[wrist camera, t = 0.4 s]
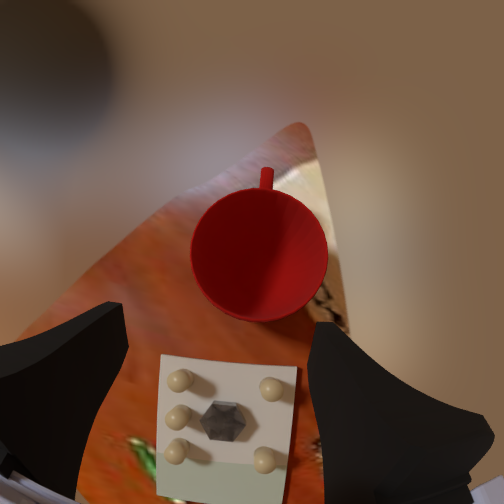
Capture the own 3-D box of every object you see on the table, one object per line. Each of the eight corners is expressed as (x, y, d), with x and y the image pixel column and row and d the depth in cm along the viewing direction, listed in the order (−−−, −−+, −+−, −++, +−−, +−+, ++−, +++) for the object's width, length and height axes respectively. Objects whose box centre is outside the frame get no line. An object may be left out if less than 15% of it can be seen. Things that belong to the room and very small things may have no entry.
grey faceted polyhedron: (250, 429, 31) (251, 434, 29) (216, 443, 30) (215, 448, 28) (231, 392, 32) (230, 396, 30) (196, 407, 32) (194, 410, 30)
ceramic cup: (311, 203, 40) (329, 163, 31) (303, 331, 36) (324, 327, 26) (216, 192, 40) (208, 150, 31) (196, 319, 36) (179, 312, 26)
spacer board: (280, 504, 29) (284, 520, 24) (158, 491, 29) (149, 506, 24) (295, 366, 34) (302, 369, 30) (163, 354, 34) (152, 355, 30)
